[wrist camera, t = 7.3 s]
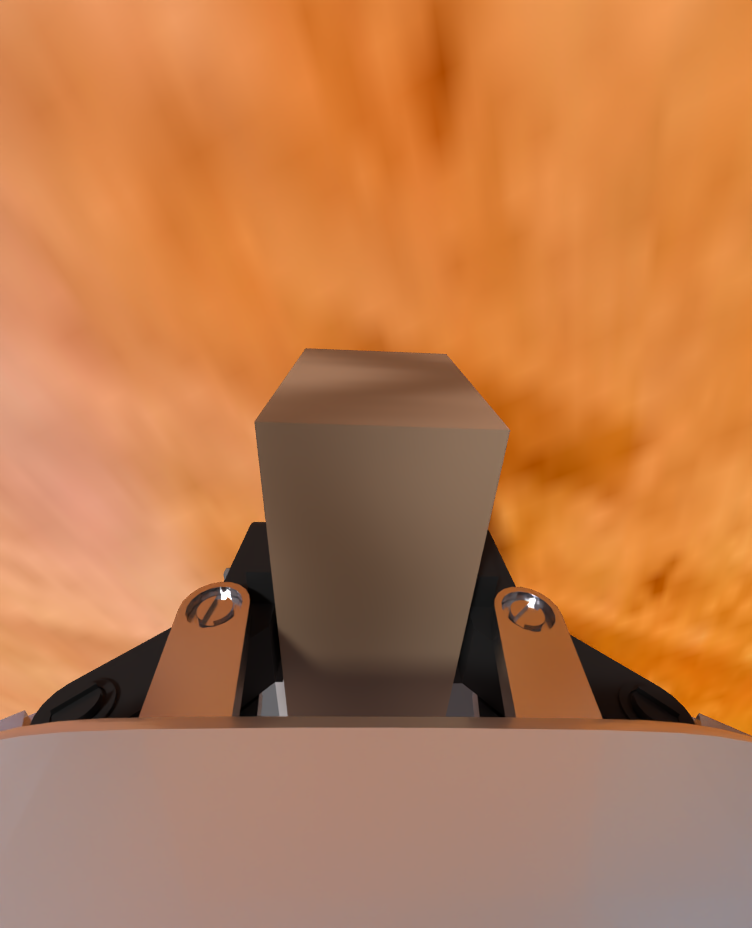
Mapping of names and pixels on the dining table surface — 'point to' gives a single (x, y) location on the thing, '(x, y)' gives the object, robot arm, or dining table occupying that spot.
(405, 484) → the brown and grey block
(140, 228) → the dining table surface
